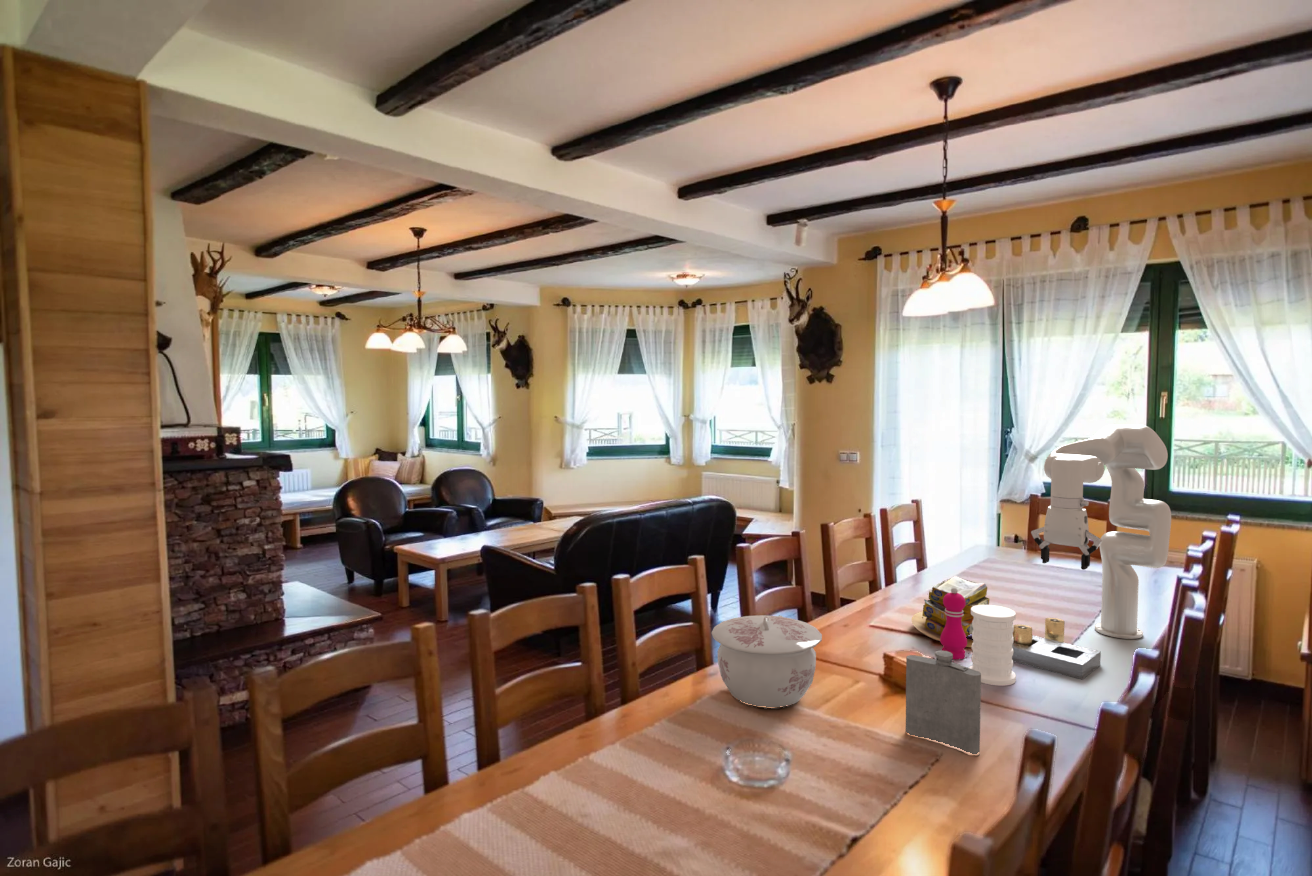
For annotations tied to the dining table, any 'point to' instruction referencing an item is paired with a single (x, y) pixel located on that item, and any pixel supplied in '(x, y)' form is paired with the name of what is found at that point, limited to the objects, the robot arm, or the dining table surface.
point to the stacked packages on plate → (934, 609)
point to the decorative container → (993, 644)
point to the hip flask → (943, 701)
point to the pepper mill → (954, 625)
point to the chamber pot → (767, 658)
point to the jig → (1053, 654)
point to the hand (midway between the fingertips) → (1064, 565)
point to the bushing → (1054, 629)
